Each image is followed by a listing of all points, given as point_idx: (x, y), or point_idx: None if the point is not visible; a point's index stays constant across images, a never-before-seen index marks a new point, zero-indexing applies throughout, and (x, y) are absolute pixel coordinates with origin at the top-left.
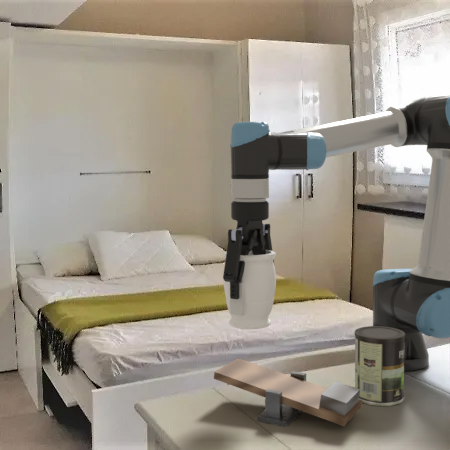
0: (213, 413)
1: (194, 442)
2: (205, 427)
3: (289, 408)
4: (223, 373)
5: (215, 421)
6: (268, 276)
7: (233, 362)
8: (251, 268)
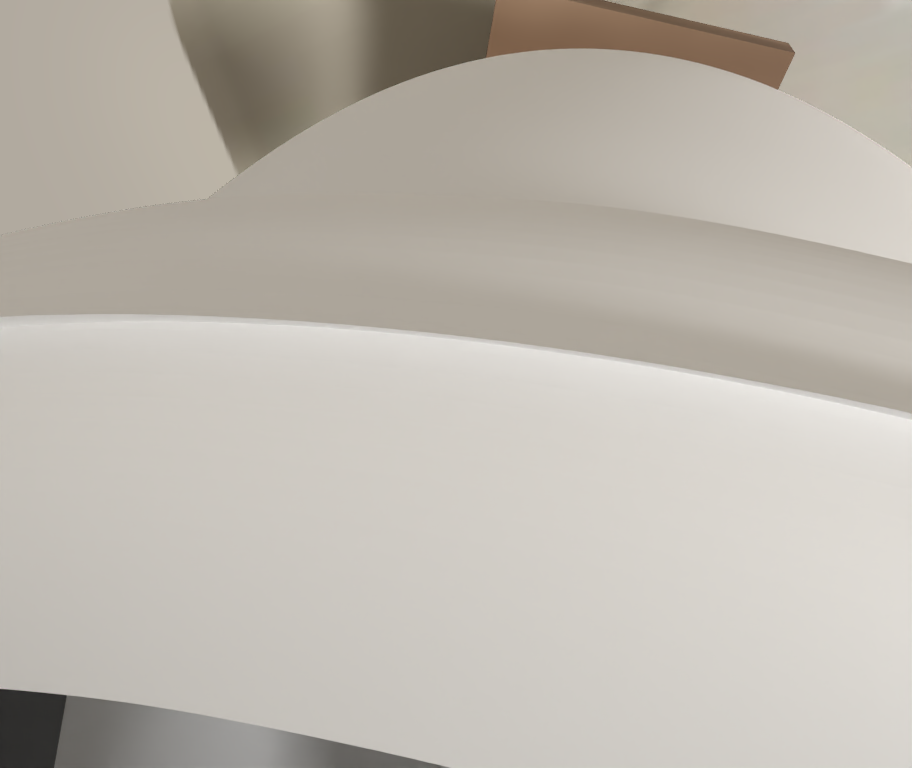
0: (458, 11)
1: (200, 37)
2: (321, 30)
3: None
4: (506, 44)
5: (385, 52)
6: (368, 762)
7: (701, 47)
8: (121, 742)
